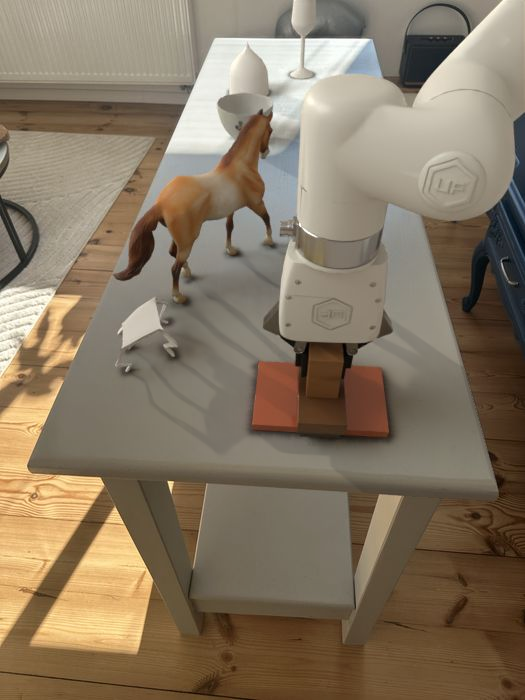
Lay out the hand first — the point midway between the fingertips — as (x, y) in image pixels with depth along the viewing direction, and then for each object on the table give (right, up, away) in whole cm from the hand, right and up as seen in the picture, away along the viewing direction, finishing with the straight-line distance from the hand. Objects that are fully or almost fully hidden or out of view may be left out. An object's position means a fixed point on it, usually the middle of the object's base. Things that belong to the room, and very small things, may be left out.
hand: (322, 367), depth 56 cm
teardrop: (-11, +72, +75) cm, 105 cm away
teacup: (-11, +52, +57) cm, 78 cm away
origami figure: (-22, +3, +12) cm, 25 cm away
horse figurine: (-17, +16, +24) cm, 34 cm away
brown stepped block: (0, -4, +4) cm, 5 cm away
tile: (0, -4, +5) cm, 6 cm away
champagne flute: (+4, +82, +84) cm, 118 cm away
